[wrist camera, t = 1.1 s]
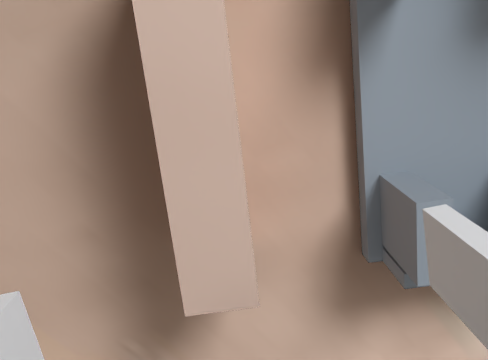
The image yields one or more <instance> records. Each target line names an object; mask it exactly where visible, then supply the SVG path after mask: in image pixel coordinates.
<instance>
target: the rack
mask: <svg viewBox="0 0 488 360" xmlns="http://www.w3.org/2000/svg"><path fill="white" fill-rule="evenodd" d="M350 17H351V37H352V57H353V77H354V98H355V118H356V138H357V158H358V178H359V198H360V219H361V239H362V254H363V256H364V257H365V258H366V260H367V261H368V263H370V262H378V261H383V262H384V263H385V264H386V266H387V267H388V268H389V270H390V271H391V272H392V273H393V275H394V276H395V277H396V279H397V280H398V281H399V282H400V284H401V285H402V286H403V288H404V289H409V288H417V287H425V286H430V283H429V273H428V262H427V252H426V242H425V231H424V221H423V211H422V209H424V208H429V207H434V206H439V205H444V204H447V205H448V206H450V207H451V208H453V209H454V210H455V211H457V212H458V213H460V214H461V215H463V216H464V217H466V218H467V219H469V220H470V221H472V222H473V223H475V224H476V225H478V226H479V227H481V228H482V229H484V230H485V231H487V232H488V0H350Z"/></svg>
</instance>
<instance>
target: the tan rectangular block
mask: <svg viewBox="0 0 488 360" xmlns="http://www.w3.org/2000/svg"><path fill="white" fill-rule="evenodd" d="M132 4H133V10H134V16H135V22H136V28H137V34H138V40H139V46H140V52H141V58H142V64H143V70H144V75H145V81H146V87H147V93H148V99H149V105H150V111H151V117H152V123H153V129H154V135H155V141H156V147H157V153H158V159H159V165H160V171H161V177H162V183H163V189H164V195H165V201H166V207H167V213H168V218H169V224H170V230H171V236H172V242H173V248H174V254H175V260H176V266H177V272H178V278H179V284H180V290H181V296H182V302H183V308H184V314H185V317H186V316H194V315H202V314H210V313H218V312H226V311H234V310H242V309H249V308H257V307H260V303H259V295H258V286H257V278H256V269H255V261H254V252H253V244H252V235H251V227H250V218H249V210H248V201H247V193H246V184H245V176H244V167H243V159H242V150H241V142H240V133H239V125H238V116H237V108H236V99H235V91H234V82H233V74H232V66H231V57H230V49H229V40H228V32H227V23H226V15H225V6H224V0H132Z"/></svg>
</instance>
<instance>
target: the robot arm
mask: <svg viewBox="0 0 488 360" xmlns="http://www.w3.org/2000/svg"><path fill="white" fill-rule="evenodd" d="M422 211H423V221H424V231H425V242H426V252H427V262H428V273H429V283H430V286H431V287H432V288H433V289H434V291H435V292H436V293H437V294H438V295H439V296H440V297H441V298H442V299H443V301H444V302H445V303H446V304H447V305H448V306H449V307H450V308H451V309H452V311H453V312H454V313H455V314H456V315H457V316H458V317H459V318H460V319H461V320H462V322H463V323H464V324H465V325H466V326H467V327H468V328H469V329H470V330H471V332H472V333H473V334H474V335H475V336H476V337H477V338H478V339H479V340H480V342H481V343H482V344H483V345H484V346H485V347H486V348H487V349H488V232H487V231H485V230H484V229H482V228H481V227H479V226H478V225H476V224H475V223H473V222H472V221H470V220H469V219H467V218H466V217H464V216H463V215H461V214H460V213H458V212H457V211H455V210H454V209H453V208H451V207H450V206H448V205H447V204H444V205H439V206H434V207H429V208H424V209H422ZM0 360H44V357H43V354H42V352H41V349H40V346H39V344H38V341H37V338H36V335H35V333H34V330H33V327H32V325H31V322H30V319H29V316H28V314H27V311H26V308H25V306H24V303H23V300H22V297H21V295H20V292H19V291H16V292H11V293H6V294H1V295H0Z"/></svg>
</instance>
